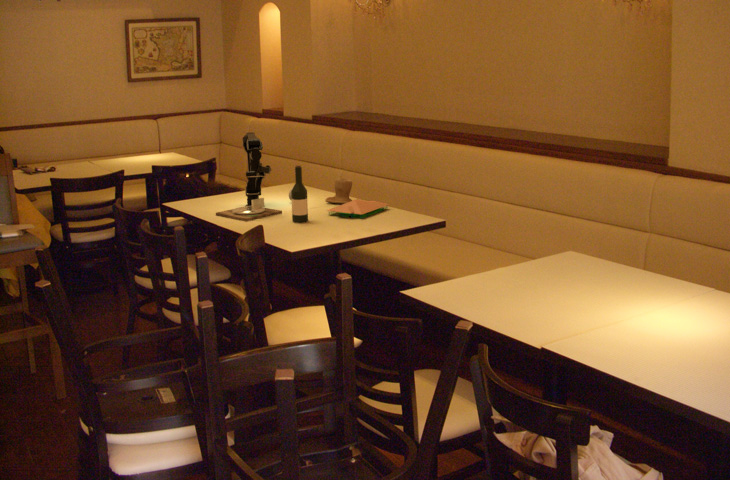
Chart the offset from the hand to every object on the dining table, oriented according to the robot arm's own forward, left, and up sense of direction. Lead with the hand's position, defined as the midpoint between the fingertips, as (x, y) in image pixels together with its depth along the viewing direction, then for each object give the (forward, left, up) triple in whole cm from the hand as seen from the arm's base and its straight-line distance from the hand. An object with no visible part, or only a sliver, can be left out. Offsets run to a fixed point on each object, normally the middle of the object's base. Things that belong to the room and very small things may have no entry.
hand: (256, 189), depth 410 cm
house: (-37, +41, -15) cm, 57 cm away
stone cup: (-52, +15, -14) cm, 56 cm away
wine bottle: (-2, +32, -14) cm, 35 cm away
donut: (-37, -7, -14) cm, 40 cm away
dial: (+3, -4, -12) cm, 14 cm away
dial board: (+3, -4, -14) cm, 15 cm away
